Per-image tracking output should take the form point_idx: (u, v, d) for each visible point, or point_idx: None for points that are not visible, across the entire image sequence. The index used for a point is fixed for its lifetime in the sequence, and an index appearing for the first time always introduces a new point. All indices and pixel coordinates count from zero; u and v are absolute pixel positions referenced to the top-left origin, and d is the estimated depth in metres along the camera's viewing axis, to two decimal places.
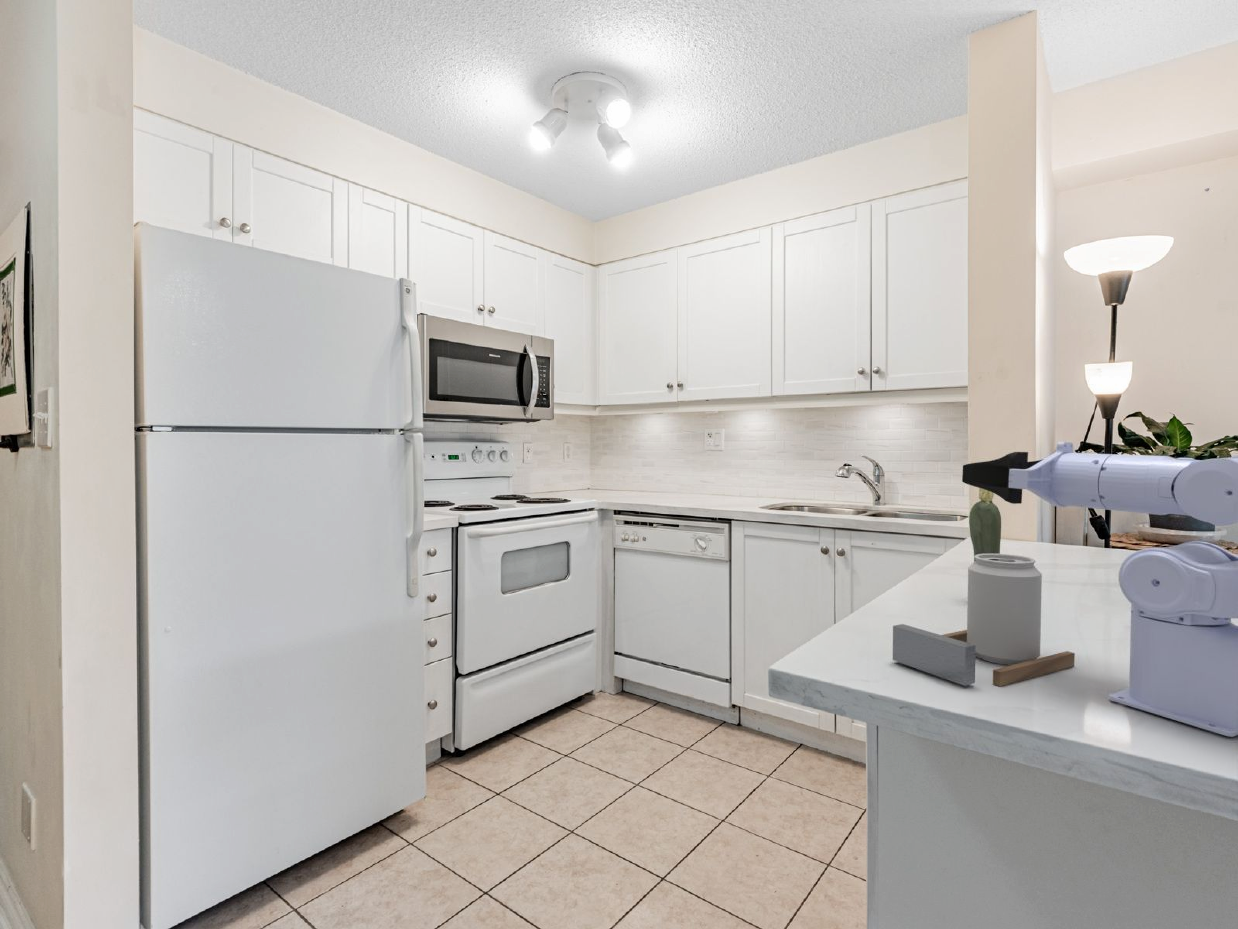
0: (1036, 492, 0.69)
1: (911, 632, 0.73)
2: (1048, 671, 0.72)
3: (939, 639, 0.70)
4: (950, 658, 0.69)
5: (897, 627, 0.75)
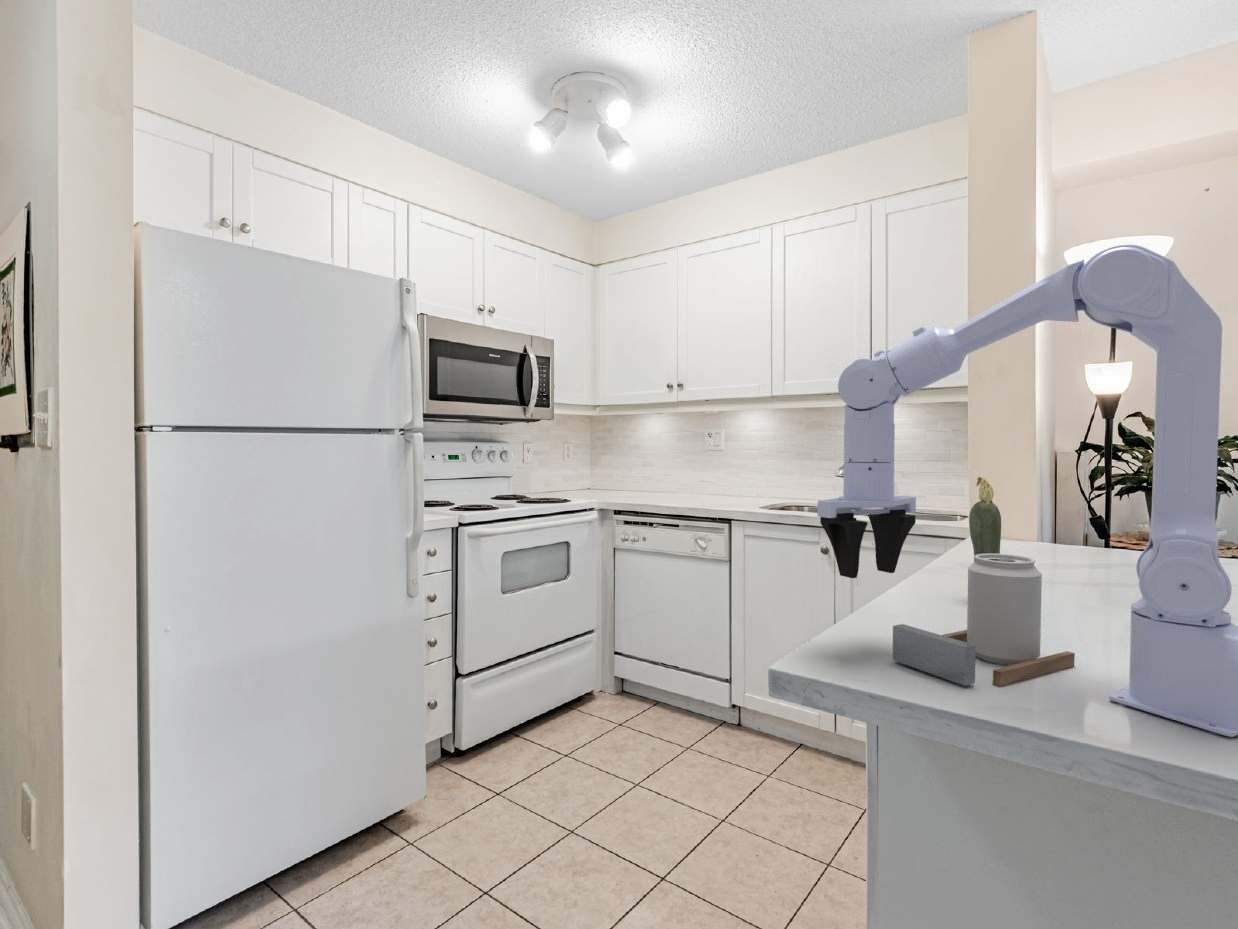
0: (846, 502, 0.76)
1: (911, 632, 0.73)
2: (1048, 671, 0.72)
3: (939, 639, 0.70)
4: (950, 658, 0.69)
5: (897, 627, 0.75)
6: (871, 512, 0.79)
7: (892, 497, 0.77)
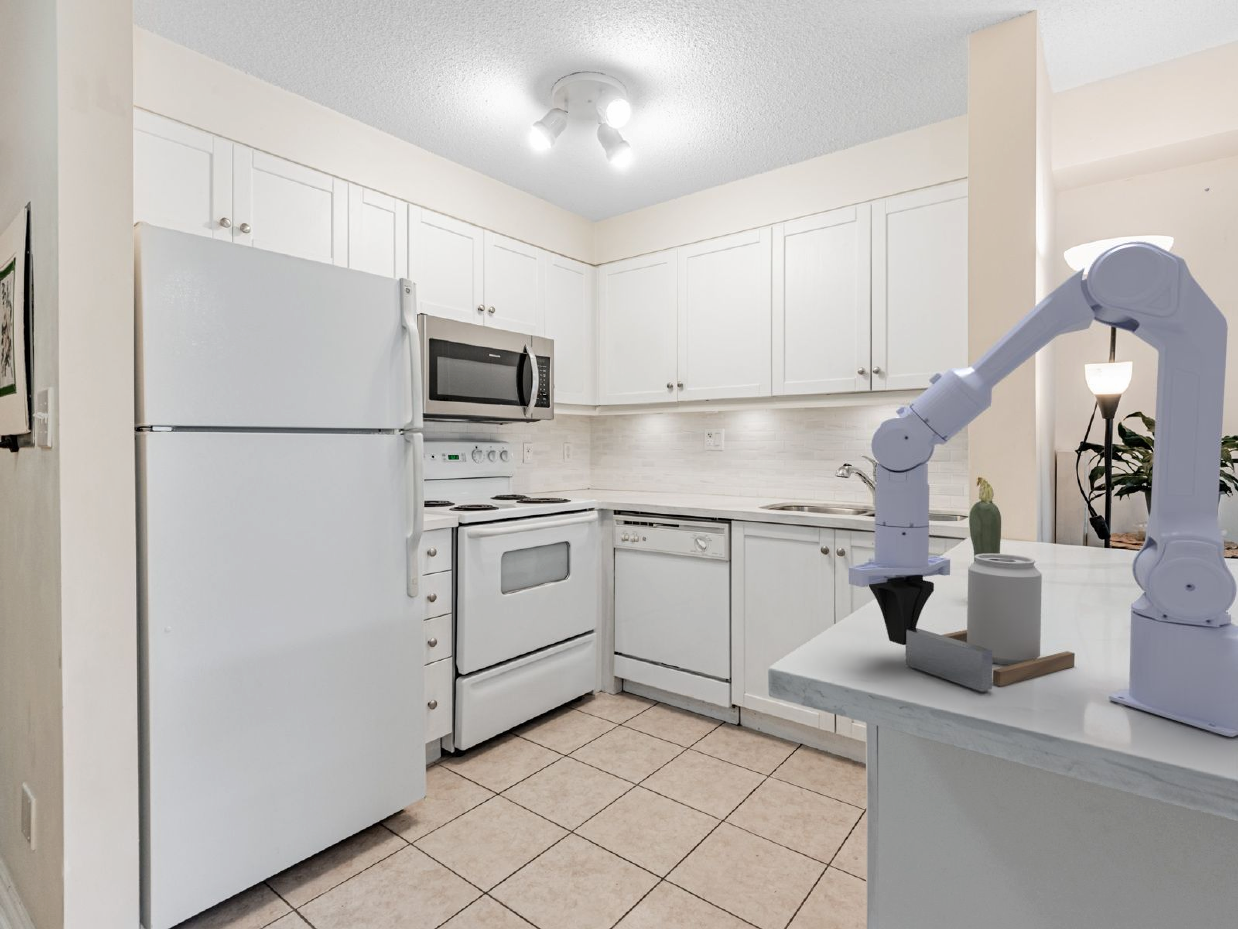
0: (879, 570, 0.72)
1: (925, 636, 0.71)
2: (1048, 671, 0.72)
3: (955, 644, 0.69)
4: (966, 663, 0.67)
5: (910, 631, 0.73)
6: (904, 577, 0.75)
7: (927, 563, 0.73)
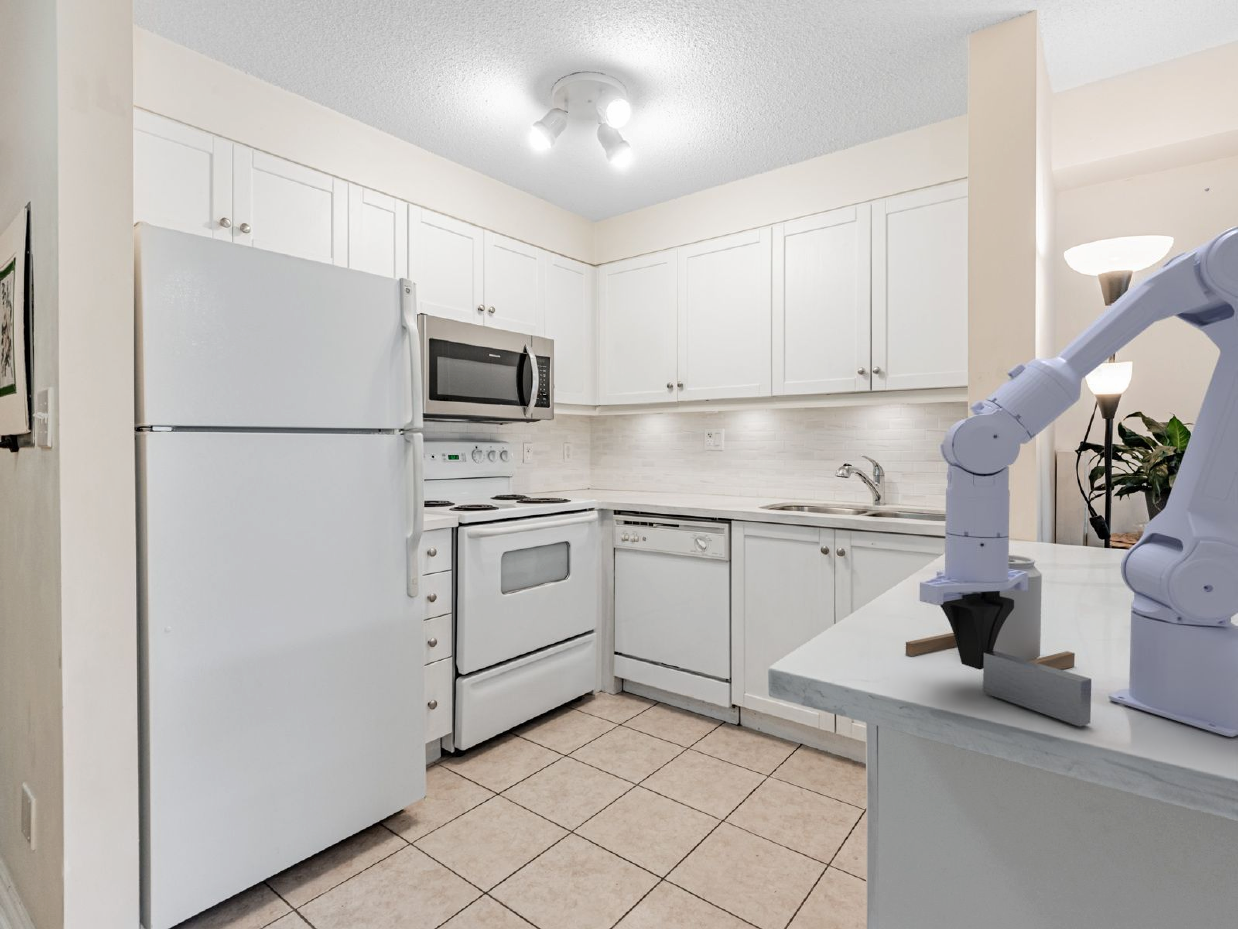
0: (955, 586, 0.64)
1: (1008, 661, 0.63)
2: None
3: (1045, 671, 0.60)
4: (1060, 693, 0.59)
5: (989, 654, 0.65)
6: (979, 593, 0.67)
7: (1007, 577, 0.65)
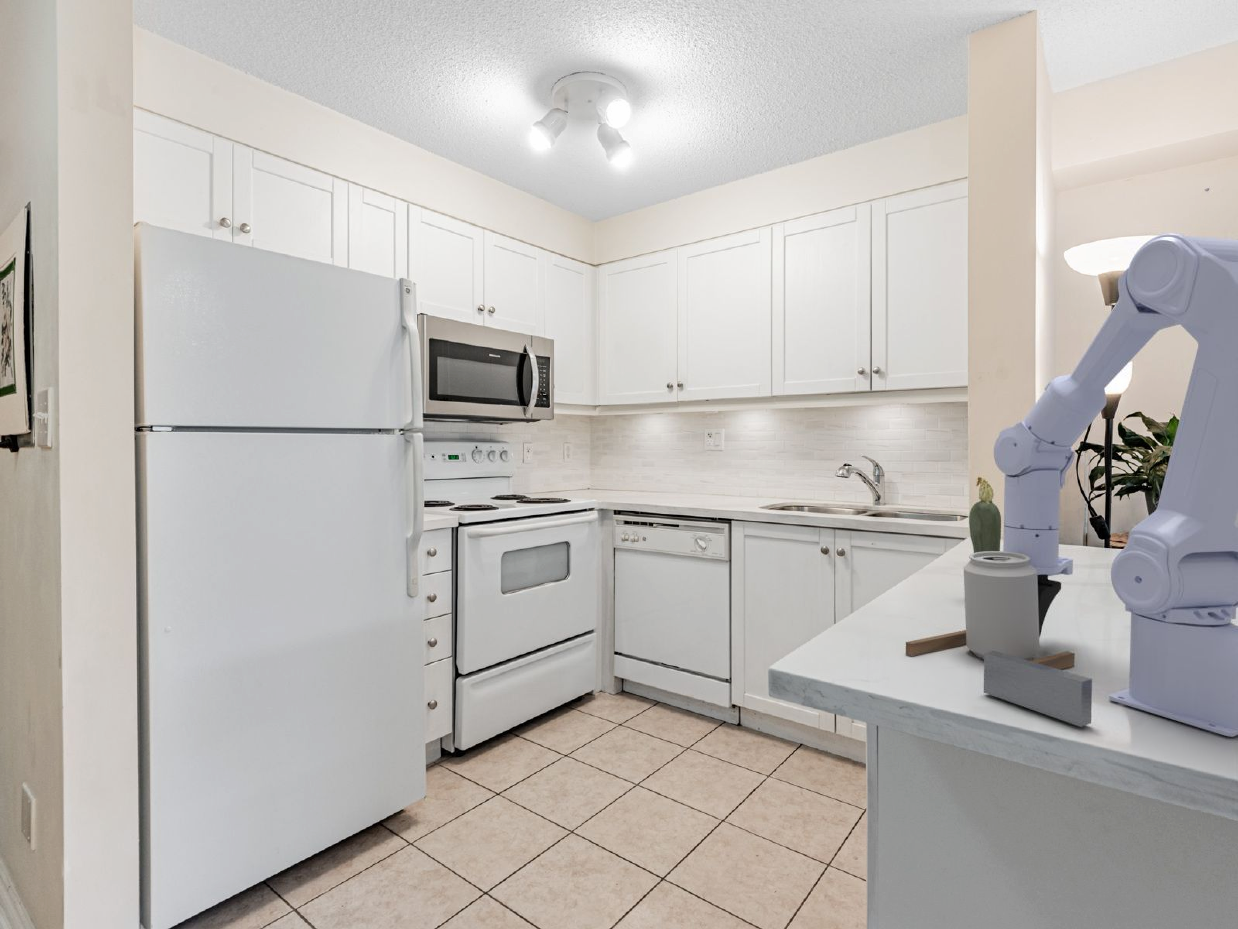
0: None
1: (1008, 661, 0.63)
2: None
3: (1046, 671, 0.60)
4: (1061, 694, 0.59)
5: (989, 654, 0.65)
6: None
7: (1057, 563, 0.78)
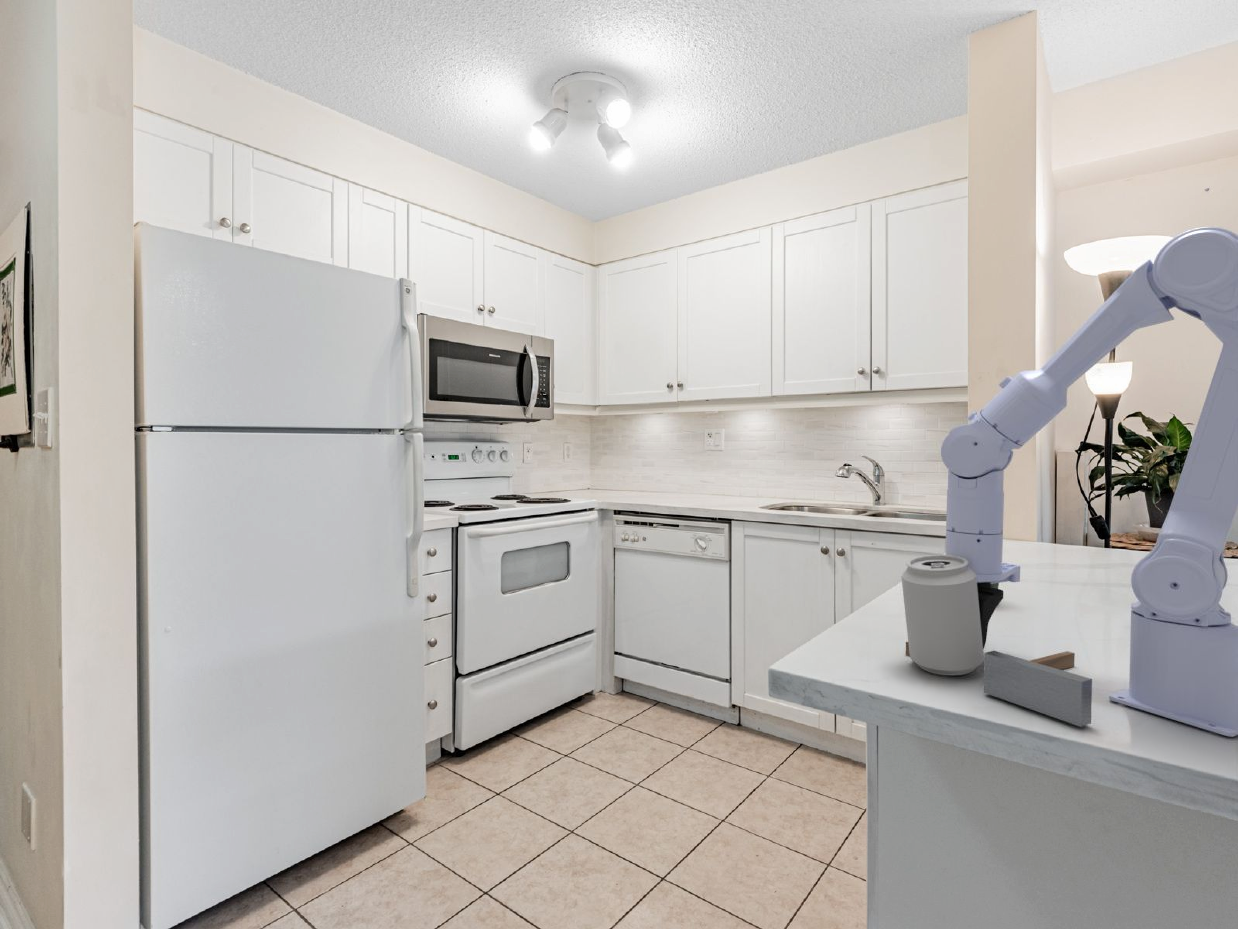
0: None
1: (1008, 661, 0.63)
2: None
3: (1046, 671, 0.60)
4: (1061, 694, 0.59)
5: (989, 654, 0.65)
6: None
7: (1001, 570, 0.73)
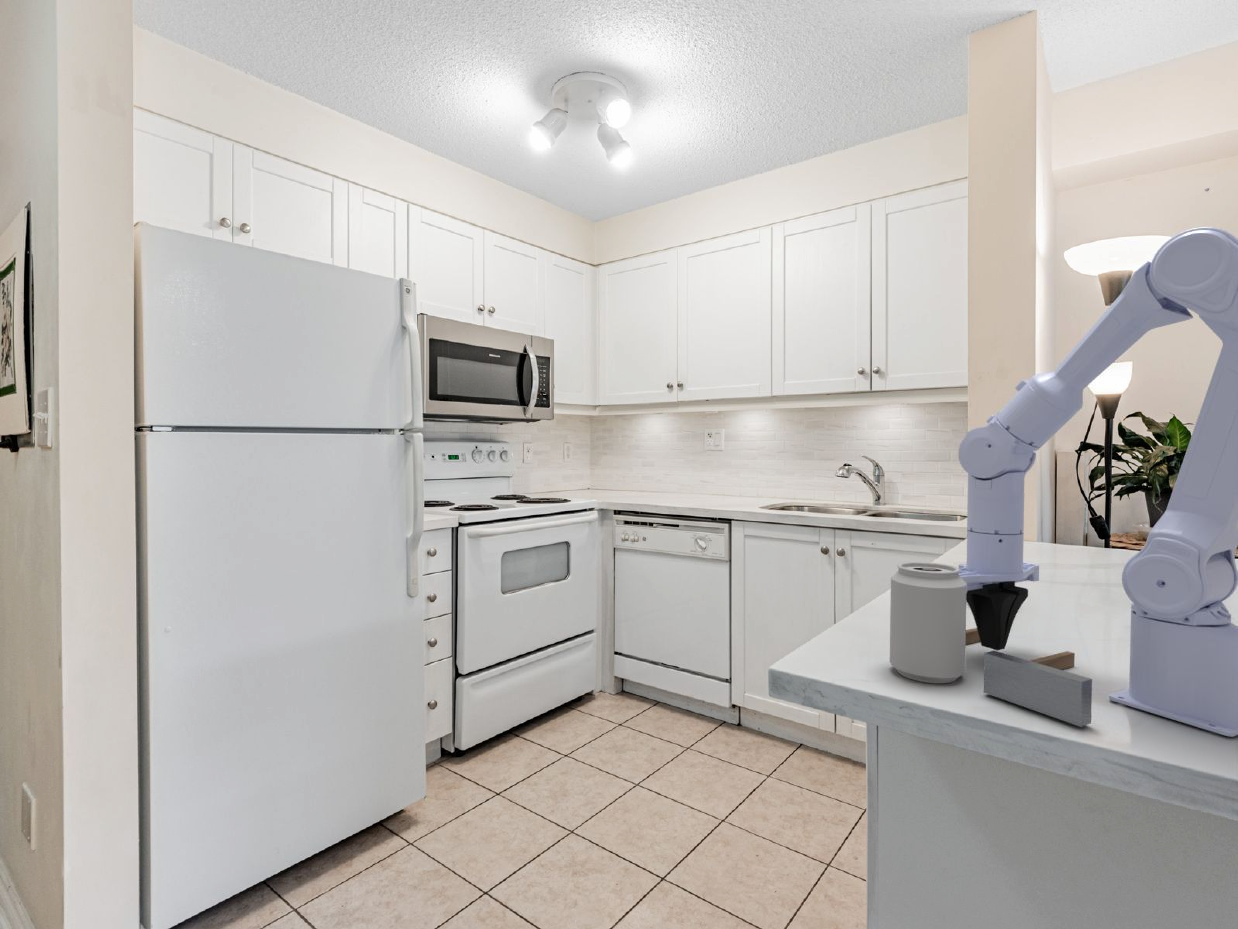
0: (977, 577, 0.73)
1: (1008, 661, 0.63)
2: None
3: (1046, 671, 0.60)
4: (1061, 694, 0.59)
5: (989, 654, 0.65)
6: (997, 583, 0.76)
7: (1022, 569, 0.75)
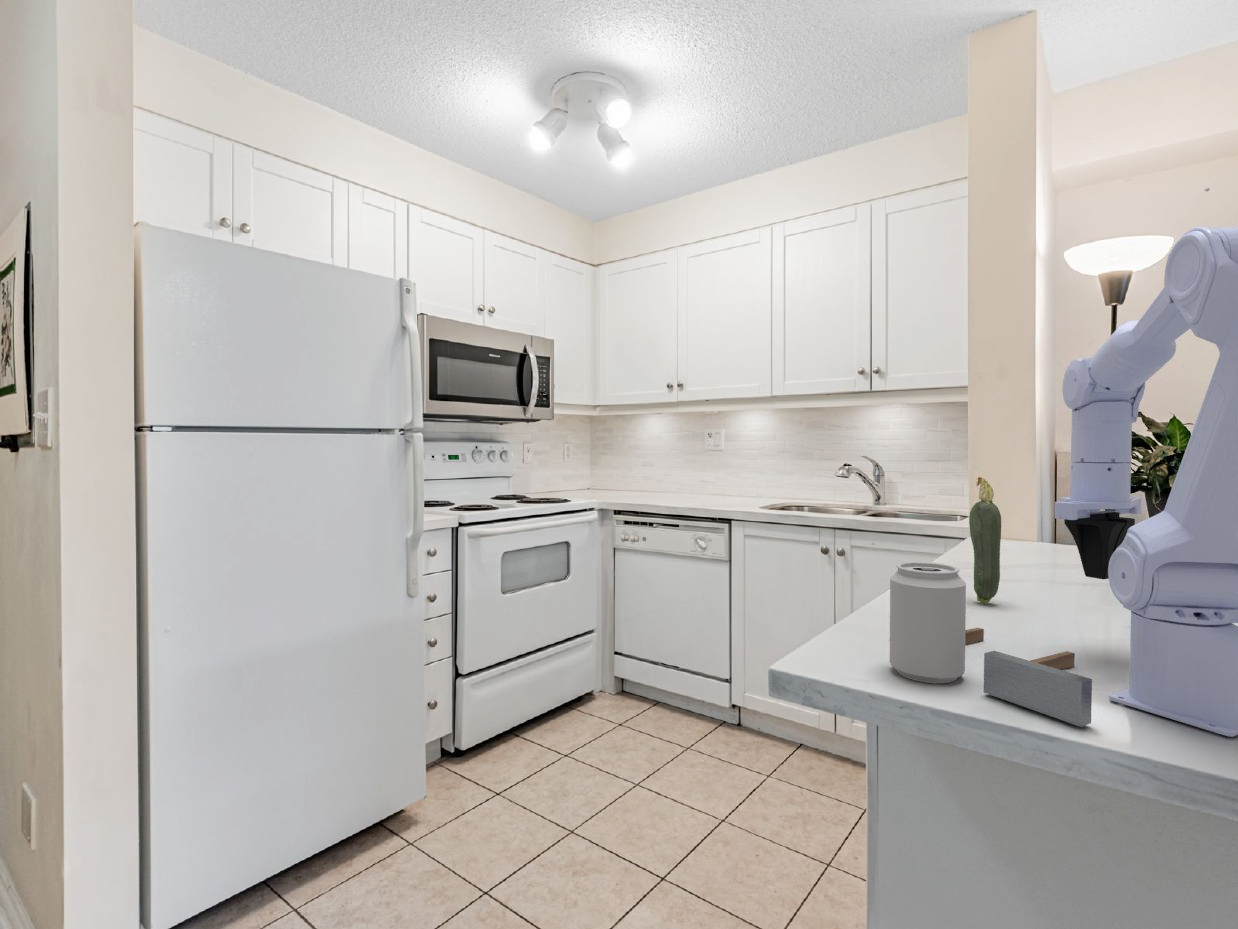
0: (1088, 504, 0.74)
1: (1008, 661, 0.63)
2: None
3: (1046, 671, 0.60)
4: (1061, 694, 0.59)
5: (989, 654, 0.65)
6: (1103, 514, 0.77)
7: (1129, 498, 0.75)
